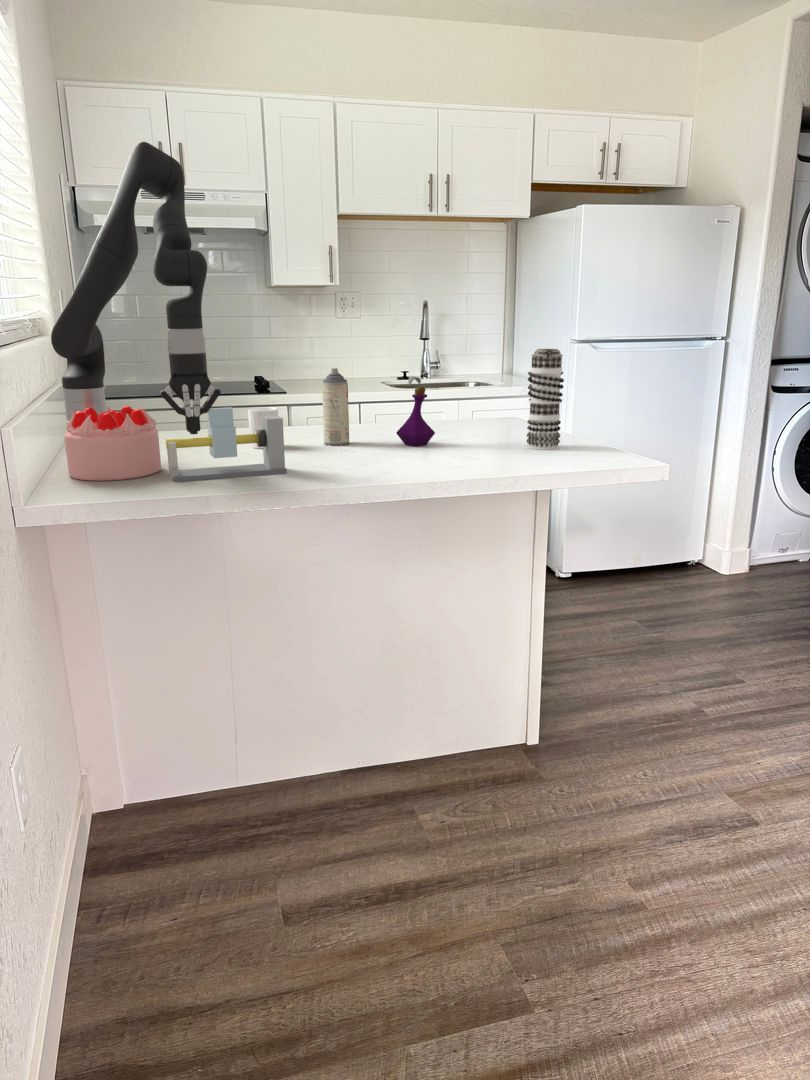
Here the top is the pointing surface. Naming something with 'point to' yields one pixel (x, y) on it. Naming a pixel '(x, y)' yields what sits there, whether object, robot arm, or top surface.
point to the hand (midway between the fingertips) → (193, 433)
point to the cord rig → (266, 438)
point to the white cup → (259, 419)
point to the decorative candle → (545, 399)
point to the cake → (112, 445)
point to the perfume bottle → (416, 421)
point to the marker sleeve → (222, 433)
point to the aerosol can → (335, 409)
